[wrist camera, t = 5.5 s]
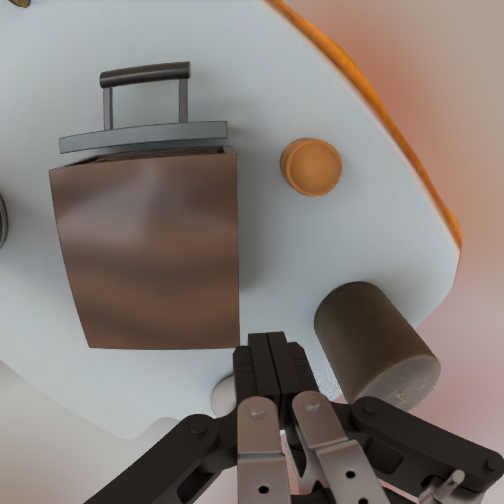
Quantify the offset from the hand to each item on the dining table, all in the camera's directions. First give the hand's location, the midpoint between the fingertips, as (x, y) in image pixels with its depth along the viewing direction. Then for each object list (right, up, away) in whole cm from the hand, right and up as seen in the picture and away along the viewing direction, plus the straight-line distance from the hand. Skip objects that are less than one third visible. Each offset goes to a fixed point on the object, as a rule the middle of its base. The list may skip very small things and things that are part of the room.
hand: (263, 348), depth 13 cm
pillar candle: (+12, -4, +24) cm, 27 cm away
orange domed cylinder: (+5, +13, +16) cm, 21 cm away
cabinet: (-9, +7, +17) cm, 21 cm away
